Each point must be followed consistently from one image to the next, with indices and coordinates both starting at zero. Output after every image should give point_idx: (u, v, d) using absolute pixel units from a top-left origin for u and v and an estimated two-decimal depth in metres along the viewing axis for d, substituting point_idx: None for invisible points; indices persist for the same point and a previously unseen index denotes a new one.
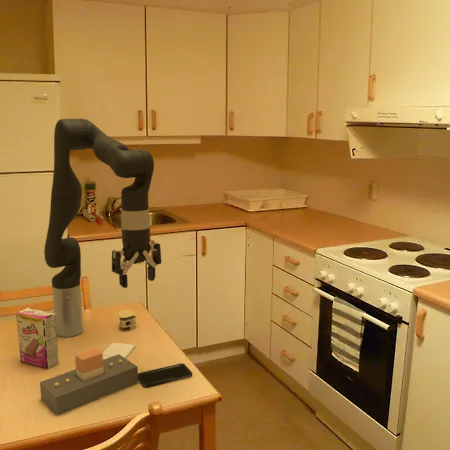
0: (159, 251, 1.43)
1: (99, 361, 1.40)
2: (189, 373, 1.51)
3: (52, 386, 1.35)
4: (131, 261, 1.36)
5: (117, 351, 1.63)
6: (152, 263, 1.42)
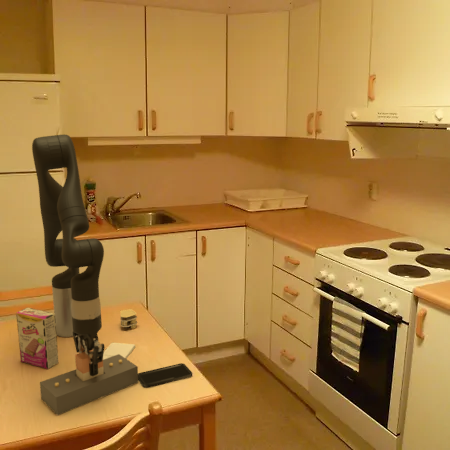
0: None
1: None
2: (189, 373, 1.51)
3: (52, 386, 1.35)
4: None
5: (117, 351, 1.63)
6: None
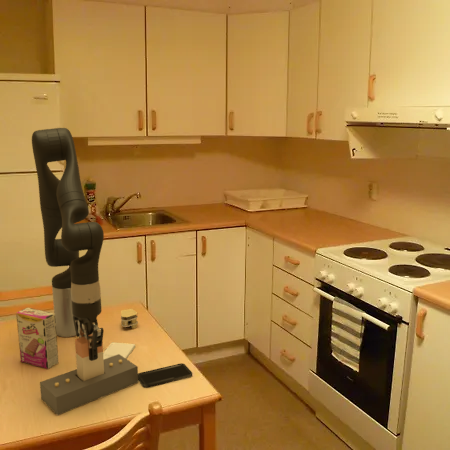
0: None
1: None
2: (189, 373, 1.51)
3: (52, 386, 1.35)
4: None
5: (118, 351, 1.64)
6: None
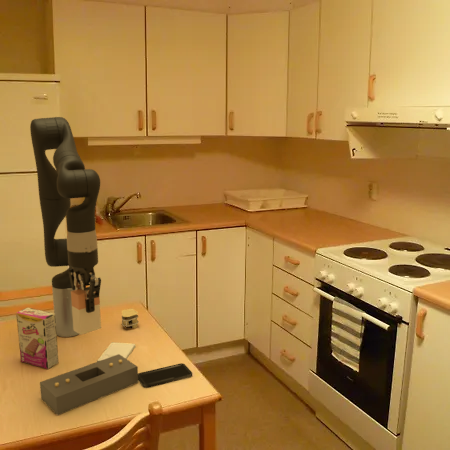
0: None
1: (95, 298, 1.36)
2: (189, 373, 1.51)
3: (52, 386, 1.35)
4: None
5: (118, 351, 1.64)
6: None
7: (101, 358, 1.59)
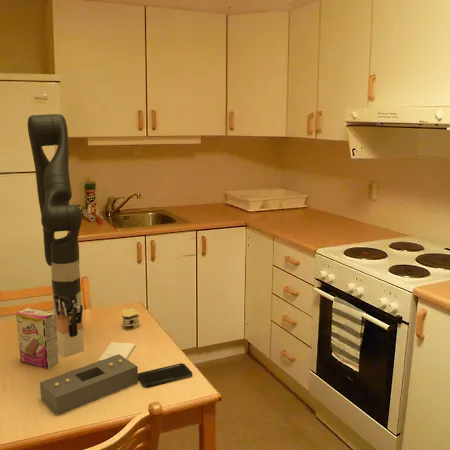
0: None
1: (78, 323, 1.47)
2: (189, 373, 1.51)
3: (52, 386, 1.35)
4: None
5: (118, 350, 1.64)
6: None
7: (102, 358, 1.59)
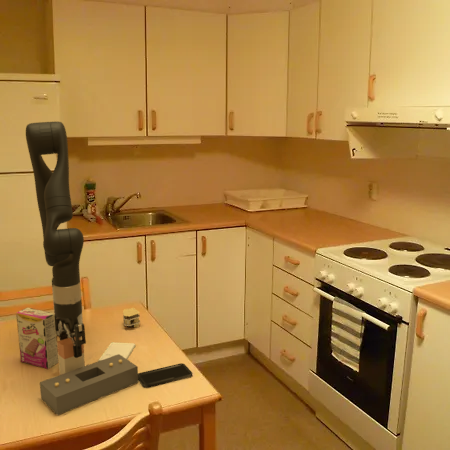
0: None
1: None
2: (189, 373, 1.51)
3: (52, 386, 1.35)
4: None
5: (118, 350, 1.64)
6: None
7: (102, 358, 1.59)
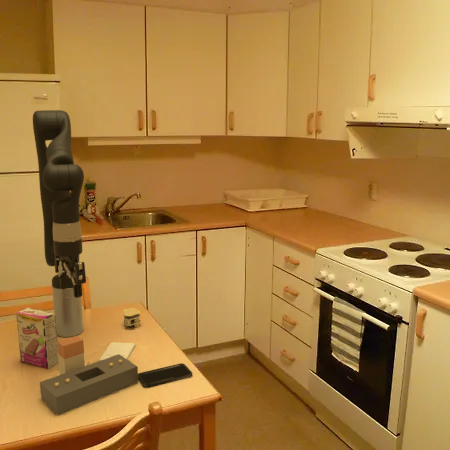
0: None
1: (80, 347, 1.48)
2: (189, 373, 1.51)
3: (52, 386, 1.35)
4: None
5: (119, 350, 1.64)
6: None
7: (102, 358, 1.59)
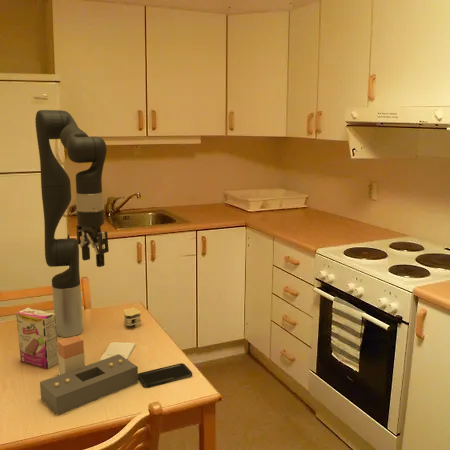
0: None
1: (80, 347, 1.48)
2: (189, 373, 1.51)
3: (52, 386, 1.35)
4: None
5: (119, 350, 1.64)
6: None
7: (103, 358, 1.59)
